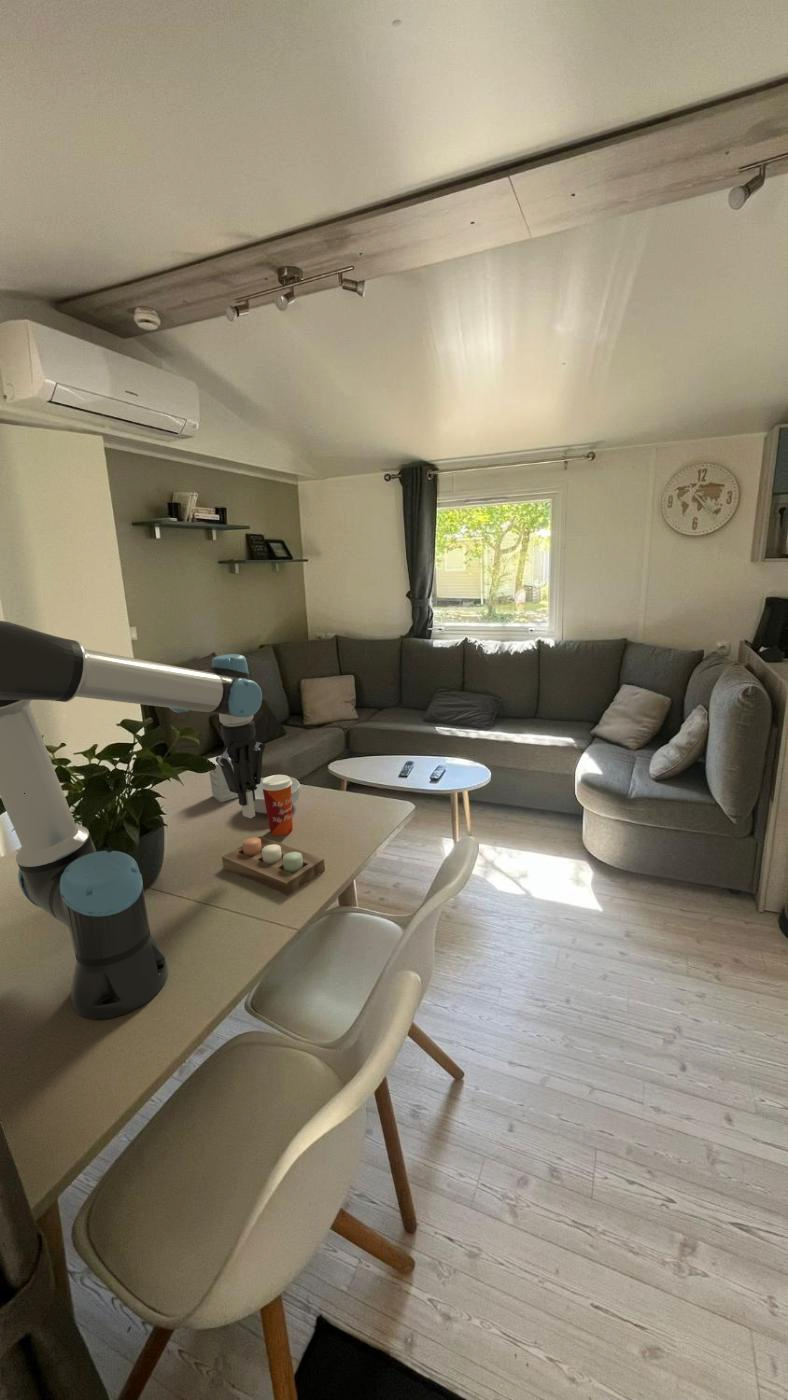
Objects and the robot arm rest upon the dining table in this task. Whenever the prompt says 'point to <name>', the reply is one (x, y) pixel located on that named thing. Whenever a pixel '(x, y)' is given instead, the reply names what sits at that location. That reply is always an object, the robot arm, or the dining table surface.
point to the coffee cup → (278, 804)
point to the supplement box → (220, 783)
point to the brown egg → (252, 846)
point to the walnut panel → (273, 868)
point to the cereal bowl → (259, 796)
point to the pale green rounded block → (292, 862)
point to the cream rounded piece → (271, 854)
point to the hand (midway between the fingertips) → (249, 815)
